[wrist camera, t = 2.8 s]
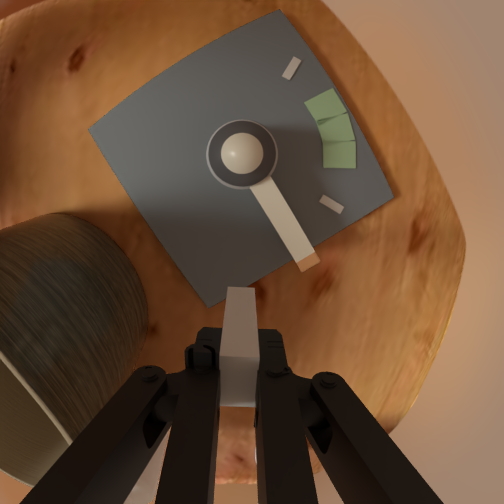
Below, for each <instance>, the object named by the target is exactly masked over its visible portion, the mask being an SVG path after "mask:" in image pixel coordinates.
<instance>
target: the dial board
mask: <svg viewBox="0 0 504 504" xmlns="http://www.w3.org/2000/svg"><path fill="white" fill-rule="evenodd" d="M235 121H250V122H253V123H256V124H258V125H260V126H261V127H263V128H264V129H265V130H266V131H267V132H268V133H269V134H270V136H271V137H272V139H273V141H274V144H275V148H276V159H275V163H274V166H273V168H272V170H271V171H270V173H269V175H270V176H271V178H272V180H273V181H274V183H275V185H276V186H277V188H278V189H279V191H280V193H281V194H282V196H283V198H284V199H285V201H286V203H287V204H288V206H289V208H290V209H291V211H292V213H293V214H294V216H295V218H296V220H297V221H298V223H299V225H300V226H301V228H302V230H303V232H304V233H305V235H306V237H307V238H308V240H309V242H310V244H311V245H312V247H315V246H316V245H318V244H320V243H321V242H323V241H325V240H326V239H328V238H329V237H331V236H333V235H334V234H336V233H338V232H339V231H341V230H343V229H344V228H346V227H347V226H349V225H351V224H352V223H354V222H356V221H357V220H359V219H360V218H362V217H364V216H365V215H367V214H368V213H370V212H372V211H373V210H375V209H376V208H378V207H380V206H381V205H383V204H384V203H386V202H388V201H389V200H391V199H392V198H394V195H393V193H392V191H391V189H390V187H389V184H388V182H387V180H386V178H385V176H384V174H383V172H382V170H381V168H380V166H379V163H378V161H377V159H376V157H375V156H374V154H373V152H372V150H371V148H370V146H369V144H368V142H367V140H366V138H365V136H364V135H363V133H362V131H361V129H360V127H359V125H358V124H357V122H356V120H355V118H354V117H353V115H352V113H351V111H350V110H349V108H348V106H347V105H346V103H345V101H344V100H343V98H342V96H341V95H340V93H339V92H338V90H337V88H336V87H335V85H334V84H333V82H332V80H331V79H330V77H329V76H328V74H327V73H326V71H325V70H324V68H323V67H322V65H321V64H320V62H319V61H318V59H317V58H316V56H315V55H314V54H313V52H312V51H311V49H310V48H309V47H308V45H307V44H306V42H305V41H304V40H303V38H302V37H301V36H300V34H299V33H298V32H297V30H296V29H295V28H294V26H293V25H292V24H291V23H290V21H289V20H288V19H287V17H286V16H285V15H284V14H283V12H282V11H281V10H280V9H279V10H276V11H274V12H272V13H269V14H267V15H265V16H263V17H260V18H258V19H256V20H254V21H252V22H250V23H247V24H245V25H243V26H241V27H239V28H237V29H235V30H233V31H231V32H229V33H227V34H225V35H224V36H222V37H220V38H218V39H216V40H214V41H212V42H211V43H209V44H207V45H205V46H204V47H202V48H200V49H198V50H197V51H195V52H193V53H192V54H190V55H188V56H187V57H185V58H183V59H182V60H180V61H179V62H177V63H175V64H174V65H172V66H171V67H169V68H168V69H166V70H165V71H163V72H162V73H160V74H159V75H157V76H156V77H154V78H153V79H152V80H150V81H149V82H147V83H146V84H144V85H143V86H142V87H140V88H139V89H138V90H136V91H135V92H134V93H132V94H131V95H130V96H128V97H127V98H126V99H124V100H123V101H122V102H120V103H119V104H118V105H117V106H115V107H114V108H113V109H112V110H110V111H109V112H108V113H107V114H106V115H104V116H103V117H102V118H101V119H100V120H98V121H97V122H96V123H95V124H94V125H93V126H91V127H90V128H89V129H88V130H89V132H90V134H91V136H92V137H93V139H94V141H95V142H96V144H97V146H98V147H99V149H100V151H101V152H102V154H103V156H104V157H105V159H106V160H107V162H108V164H109V165H110V167H111V168H112V170H113V172H114V173H115V175H116V176H117V178H118V180H119V181H120V183H121V184H122V186H123V187H124V189H125V191H126V192H127V194H128V195H129V197H130V198H131V200H132V201H133V203H134V204H135V206H136V207H137V209H138V210H139V212H140V213H141V215H142V216H143V218H144V219H145V221H146V222H147V224H148V225H149V227H150V228H151V230H152V231H153V233H154V234H155V235H156V237H157V238H158V240H159V241H160V243H161V244H162V246H163V247H164V248H165V250H166V251H167V253H168V254H169V255H170V257H171V258H172V260H173V261H174V262H175V264H176V265H177V267H178V268H179V269H180V271H181V272H182V274H183V275H184V276H185V278H186V279H187V280H188V282H189V283H190V284H191V286H192V287H193V289H194V290H195V291H196V293H197V294H198V295H199V297H200V298H201V299H202V301H203V302H204V303H205V305H206V306H207V307H208V308H211V307H212V306H214V305H216V304H218V303H219V302H221V301H223V300H225V299H226V297H227V289H228V287H247V286H249V285H250V284H252V283H254V282H256V281H257V280H259V279H261V278H262V277H264V276H266V275H268V274H269V273H271V272H273V271H274V270H276V269H278V268H279V267H281V266H283V265H285V264H286V263H288V262H290V261H291V260H293V257H292V255H291V254H290V252H289V250H288V249H287V247H286V245H285V244H284V242H283V240H282V239H281V237H280V235H279V234H278V232H277V231H276V229H275V227H274V226H273V224H272V223H271V221H270V219H269V218H268V216H267V214H266V213H265V211H264V210H263V208H262V206H261V205H260V203H259V202H258V200H257V198H256V197H255V195H254V194H253V192H252V190H251V189H250V187H249V186H245V187H238V186H233V185H230V184H228V183H226V182H224V181H222V180H221V179H220V178H219V177H218V176H217V175H216V174H215V173H214V171H213V170H212V168H211V165H210V162H209V157H208V150H209V145H210V142H211V140H212V138H213V136H214V135H215V134H216V132H217V131H218V130H219V129H220V128H222V127H223V126H225V125H227V124H229V123H231V122H235Z"/></svg>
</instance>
